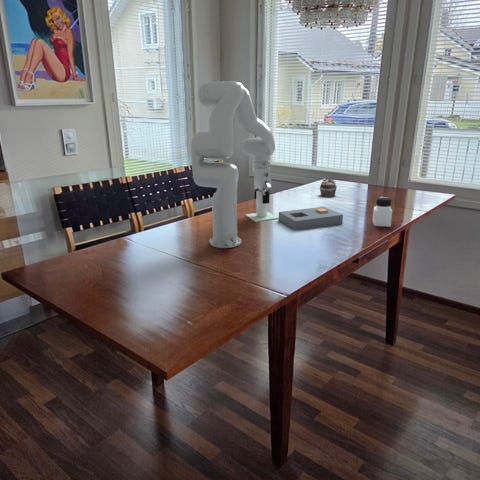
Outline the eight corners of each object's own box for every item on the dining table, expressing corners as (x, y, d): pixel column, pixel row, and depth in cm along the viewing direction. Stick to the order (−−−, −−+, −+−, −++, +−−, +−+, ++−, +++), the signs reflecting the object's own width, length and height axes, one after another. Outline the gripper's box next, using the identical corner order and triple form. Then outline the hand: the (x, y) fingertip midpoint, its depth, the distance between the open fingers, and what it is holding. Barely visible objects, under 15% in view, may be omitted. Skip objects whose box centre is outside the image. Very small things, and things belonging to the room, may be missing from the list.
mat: (278, 218, 192) (278, 217, 192) (255, 221, 188) (255, 220, 188) (268, 212, 202) (268, 211, 202) (245, 215, 198) (245, 214, 198)
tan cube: (327, 219, 187) (327, 210, 186) (320, 220, 186) (320, 211, 185) (322, 217, 191) (323, 208, 189) (315, 218, 190) (316, 209, 188)
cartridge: (269, 216, 193) (269, 189, 189) (258, 217, 192) (259, 190, 188) (264, 214, 198) (264, 187, 194) (254, 215, 196) (254, 188, 192)
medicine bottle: (391, 226, 177) (393, 200, 173) (373, 226, 179) (376, 199, 175) (388, 222, 184) (391, 196, 180) (372, 221, 185) (374, 195, 181)
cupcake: (316, 194, 239) (317, 177, 235) (331, 193, 241) (332, 176, 238) (324, 198, 230) (325, 180, 227) (339, 196, 233) (340, 179, 229)
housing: (342, 223, 184) (342, 214, 182) (294, 229, 176) (295, 221, 174) (323, 214, 198) (323, 206, 196) (278, 220, 190) (278, 212, 188)
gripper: (277, 166, 180) (276, 204, 186) (261, 161, 196) (261, 196, 201) (261, 167, 178) (261, 206, 184) (247, 162, 193) (247, 198, 199)
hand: (261, 201), depth 192 cm, fingers open, 9 cm apart
